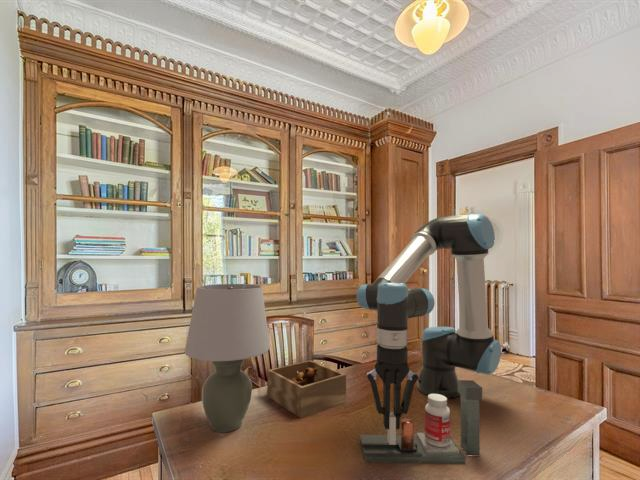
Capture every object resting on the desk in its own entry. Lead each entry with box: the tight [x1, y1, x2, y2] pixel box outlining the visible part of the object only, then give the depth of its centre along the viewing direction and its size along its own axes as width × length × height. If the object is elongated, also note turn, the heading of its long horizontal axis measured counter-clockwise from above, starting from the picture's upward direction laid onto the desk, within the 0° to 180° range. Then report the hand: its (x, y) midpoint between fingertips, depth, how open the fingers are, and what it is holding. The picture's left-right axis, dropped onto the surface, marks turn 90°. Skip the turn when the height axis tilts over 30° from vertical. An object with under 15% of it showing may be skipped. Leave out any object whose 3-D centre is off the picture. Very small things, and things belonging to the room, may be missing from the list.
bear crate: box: [266, 359, 347, 419], centre depth 115 cm, size 20×19×9 cm
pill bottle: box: [424, 394, 451, 447], centre depth 86 cm, size 6×6×11 cm
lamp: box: [184, 283, 271, 433], centre depth 98 cm, size 24×24×40 cm
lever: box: [398, 417, 417, 452], centre depth 82 cm, size 4×3×7 cm
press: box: [360, 379, 483, 464], centre depth 85 cm, size 30×10×17 cm, turn 91°
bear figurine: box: [292, 367, 317, 386], centre depth 115 cm, size 14×15×12 cm
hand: (391, 441), depth 82 cm, fingers closed
